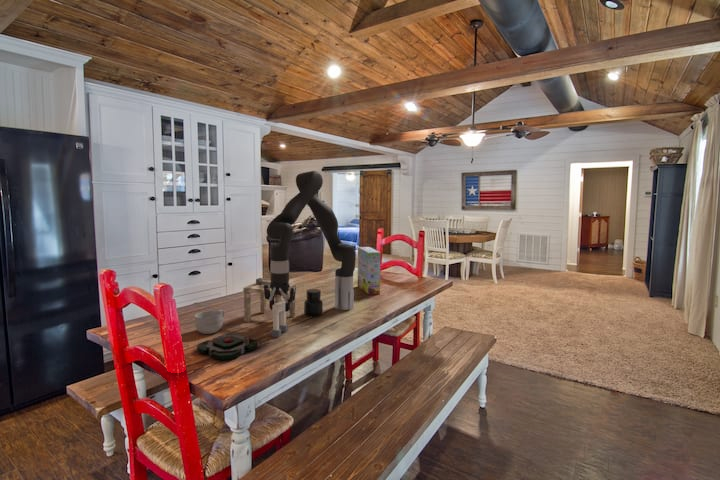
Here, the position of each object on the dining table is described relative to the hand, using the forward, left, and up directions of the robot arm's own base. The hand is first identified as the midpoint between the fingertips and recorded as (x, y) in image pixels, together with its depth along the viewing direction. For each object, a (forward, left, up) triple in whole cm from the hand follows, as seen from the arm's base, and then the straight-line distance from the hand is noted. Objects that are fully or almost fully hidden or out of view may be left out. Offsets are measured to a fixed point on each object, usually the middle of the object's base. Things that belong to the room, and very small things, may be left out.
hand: (279, 310), depth 159 cm
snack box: (-15, -84, -10) cm, 86 cm away
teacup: (+28, +7, -10) cm, 31 cm away
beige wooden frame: (+13, -15, -10) cm, 22 cm away
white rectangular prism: (0, 0, -10) cm, 10 cm away
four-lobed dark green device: (+10, +21, -11) cm, 26 cm away
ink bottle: (-3, -28, -10) cm, 30 cm away
